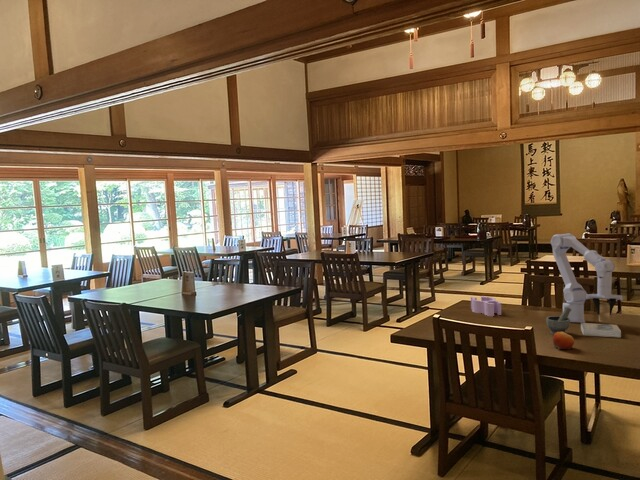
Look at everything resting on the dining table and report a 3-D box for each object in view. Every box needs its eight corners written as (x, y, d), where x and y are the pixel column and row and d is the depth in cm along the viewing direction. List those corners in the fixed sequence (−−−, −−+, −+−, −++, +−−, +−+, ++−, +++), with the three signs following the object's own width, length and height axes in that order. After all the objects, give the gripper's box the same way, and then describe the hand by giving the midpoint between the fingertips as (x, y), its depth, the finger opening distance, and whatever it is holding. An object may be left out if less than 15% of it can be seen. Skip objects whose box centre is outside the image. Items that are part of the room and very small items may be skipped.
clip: (507, 315, 262) (507, 302, 262) (486, 317, 260) (486, 304, 259) (486, 307, 282) (486, 295, 281) (466, 309, 279) (466, 297, 278)
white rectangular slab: (583, 335, 221) (583, 328, 221) (580, 329, 231) (580, 322, 230) (620, 337, 216) (620, 330, 215) (616, 331, 225) (616, 324, 225)
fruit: (544, 343, 208) (554, 326, 208) (559, 351, 209) (569, 335, 209) (555, 348, 200) (565, 331, 200) (571, 357, 201) (580, 340, 201)
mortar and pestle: (553, 337, 221) (553, 310, 219) (541, 331, 230) (541, 306, 229) (577, 335, 222) (577, 309, 221) (564, 329, 231) (564, 304, 230)
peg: (599, 321, 230) (599, 304, 230) (598, 319, 234) (598, 302, 233) (609, 322, 229) (609, 305, 228) (608, 319, 233) (608, 303, 232)
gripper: (587, 286, 229) (587, 315, 230) (624, 288, 223) (623, 317, 225) (586, 284, 235) (585, 311, 237) (621, 285, 230) (620, 313, 231)
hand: (603, 314), depth 231 cm, fingers closed on peg, 4 cm apart
